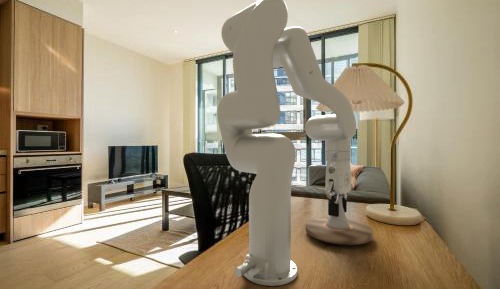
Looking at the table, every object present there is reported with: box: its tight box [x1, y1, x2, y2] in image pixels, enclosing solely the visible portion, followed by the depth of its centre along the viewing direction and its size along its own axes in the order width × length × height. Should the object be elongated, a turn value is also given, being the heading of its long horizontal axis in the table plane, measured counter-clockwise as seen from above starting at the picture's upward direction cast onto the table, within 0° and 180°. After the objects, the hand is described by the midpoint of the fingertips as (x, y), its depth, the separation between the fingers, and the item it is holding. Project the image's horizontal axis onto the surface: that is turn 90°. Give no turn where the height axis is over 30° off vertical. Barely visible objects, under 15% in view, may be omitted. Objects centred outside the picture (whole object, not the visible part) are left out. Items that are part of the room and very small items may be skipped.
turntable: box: [304, 216, 374, 246], centre depth 80 cm, size 20×20×2 cm
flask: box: [326, 194, 350, 230], centre depth 80 cm, size 7×7×10 cm
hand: (337, 213), depth 80 cm, fingers open, 5 cm apart
